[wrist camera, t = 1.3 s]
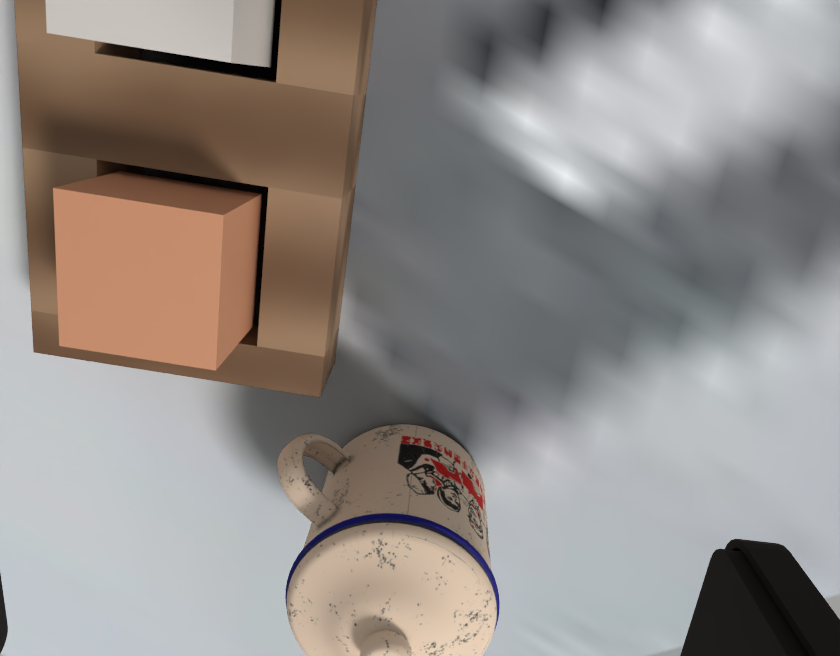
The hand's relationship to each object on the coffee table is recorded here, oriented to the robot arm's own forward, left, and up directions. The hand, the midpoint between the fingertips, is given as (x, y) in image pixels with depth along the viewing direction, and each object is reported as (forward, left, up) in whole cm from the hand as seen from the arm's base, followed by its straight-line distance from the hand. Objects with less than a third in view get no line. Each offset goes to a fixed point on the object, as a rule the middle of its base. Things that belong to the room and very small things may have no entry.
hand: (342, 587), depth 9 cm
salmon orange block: (+2, -10, -21) cm, 23 cm away
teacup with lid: (+14, 0, -24) cm, 28 cm away
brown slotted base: (-3, -10, -24) cm, 26 cm away
